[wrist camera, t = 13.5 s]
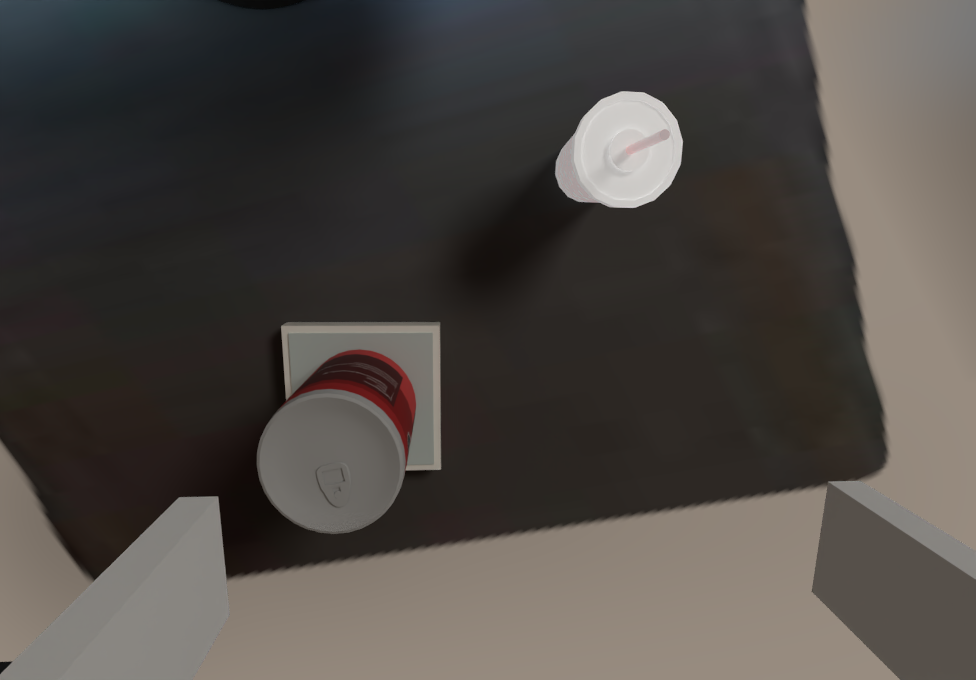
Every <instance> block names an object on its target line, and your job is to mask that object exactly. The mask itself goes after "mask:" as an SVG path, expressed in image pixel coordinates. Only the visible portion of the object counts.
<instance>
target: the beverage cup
mask: <svg viewBox="0 0 976 680" xmlns="http://www.w3.org/2000/svg"><path fill="white" fill-rule="evenodd" d="M682 144H683V141H682V137H681V134H680V130H679V126H678V123H677V120H676V118H675V117H674V116H673V115H672V113H671V112H670V111H669V110H668V108H667V107H666V106H665V104H664V103H663V102H661V101H659V100H657V99H655V98H653V97H651V96H650V95H648V94H646V93H643V92H623V91H622V92H619V93H617V94H614V95H612V96H609V97H607V98H604V99H601V100H600V101H599V102H598V103H597V104H596V105H595V106H594V107H593V108H592V109H591V110H590V111H589V112H588V113H587V114H586V115H585V116H584V117H583V118H582V119H581V121H580V124H579V126H578V128H577V130H576V132H575V134H574V135H573V136H572V138H571V139H570V140H569V141H568V142H567V143H566V145H565V146H564V147H563V148H562V149H561V152H560V154H559V156H558V158H557V161H556V172H555V175H556V178H557V181H558V184H559V187H560V188H561V189H562V190H563V192H564V193H565V194H566V195H567V196H568V197H570V198H572V199H574V200H576V201H578V202H600V203H602V204H604V205H606V206H608V207H621V208H635V207H638V206H640V205H643V204H645V203H648V202H650V201H653V200H655V199H656V198H657V197H658V196H659V195H660V194H661V193H662V192H663V191H665V190H666V189H667V188H668V187H669V186H670V185H671V183H672V181H673V179H674V177H675V175H676V173H677V171H678V169H679V167H680V165H681V155H682Z"/></svg>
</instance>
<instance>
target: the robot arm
mask: <svg viewBox="0 0 976 680" xmlns="http://www.w3.org/2000/svg"><path fill="white" fill-rule="evenodd" d="M219 1H221V2H224V3H228V4H231V5H235V6H239V7H245V8H254V9H271V8H279V7H285V6H289V5H293V4H296V3H299V2H302V1H304V0H219ZM812 592H813V593H814V594H815V595H816V596H817V597H818V598H819V599H820V600H821V601H822V602H823V603H824V604H825V605H826V606H827V607H828V608H829V609H830V610H831V611H832V612H833V613H834V614H835V615H836V616H837V617H838V618H839V619H840V620H841V621H842V622H843V623H844V624H845V625H846V626H847V627H848V628H849V629H850V630H851V631H852V632H853V633H854V634H855V635H856V636H857V637H858V638H859V639H860V640H861V641H862V642H863V643H864V644H865V645H866V646H867V647H868V648H869V649H870V650H871V651H872V652H873V653H874V654H875V655H876V656H877V657H878V658H879V659H880V660H881V661H882V662H883V663H884V664H885V665H886V666H887V667H888V668H889V669H890V670H891V671H892V672H893V673H894V674H895V675H896V676H897V677H898V678H899V679H900V680H976V551H975V550H973V549H972V548H970V547H968V546H967V545H965V544H963V543H962V542H960V541H959V540H957V539H955V538H954V537H952V536H950V535H949V534H947V533H945V532H944V531H942V530H940V529H939V528H937V527H935V526H934V525H932V524H931V523H929V522H927V521H926V520H924V519H922V518H921V517H919V516H918V515H916V514H914V513H913V512H911V511H909V510H908V509H906V508H904V507H903V506H901V505H899V504H898V503H896V502H894V501H893V500H891V499H890V498H888V497H886V496H885V495H883V494H881V493H879V492H878V491H876V490H875V489H873V488H871V487H870V486H868V485H866V484H865V483H863V482H862V481H840V482H828V487H827V494H826V500H825V507H824V513H823V520H822V527H821V533H820V540H819V547H818V554H817V560H816V567H815V574H814V580H813V588H812ZM229 615H230V612H229V602H228V591H227V581H226V571H225V561H224V551H223V541H222V530H221V520H220V510H219V500H218V496H215V497H179V498H178V499H177V500H176V501H175V502H174V503H173V504H172V505H171V506H170V507H169V508H168V509H167V510H166V511H165V512H164V513H163V514H162V515H161V516H160V517H159V518H158V519H157V520H156V521H155V522H154V523H153V524H152V525H151V526H150V527H149V528H148V529H147V530H146V531H145V532H144V533H143V534H142V535H141V536H140V537H139V538H138V539H137V540H136V541H135V542H134V543H133V544H132V545H131V546H130V547H128V548H127V549H126V550H125V551H124V552H123V553H122V554H121V555H120V556H119V557H118V558H117V559H116V560H115V561H114V562H113V563H112V564H111V565H110V566H109V567H108V568H107V569H106V570H105V571H104V572H103V573H102V574H101V575H100V576H99V577H98V578H97V579H96V580H95V581H94V582H93V583H92V584H91V585H90V586H89V587H88V588H87V589H86V590H85V591H84V592H83V593H82V594H81V595H80V596H79V597H78V598H77V599H76V600H75V601H74V602H73V603H72V604H71V605H70V606H69V607H68V608H67V609H66V610H65V611H64V612H63V613H62V614H61V615H60V616H59V617H58V618H57V619H56V620H55V621H54V622H53V623H52V624H50V626H49V627H47V629H45V631H43V632H42V633H41V634H40V636H38V637H37V638H36V639H35V640H34V641H33V642H32V643H31V644H30V645H29V646H28V647H27V648H26V649H25V650H24V651H23V652H22V653H21V654H20V655H19V656H18V657H17V658H16V659H15V660H14V661H13V662H0V680H193V678H194V676H195V674H196V673H197V671H198V669H199V667H200V666H201V664H202V662H203V660H204V659H205V657H206V655H207V653H208V652H209V650H210V648H211V646H212V645H213V643H214V641H215V639H216V638H217V636H218V634H219V632H220V630H221V629H222V627H223V625H224V624H225V622H226V620H227V618H228V617H229Z"/></svg>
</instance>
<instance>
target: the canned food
mask: <svg viewBox="0 0 976 680" xmlns="http://www.w3.org/2000/svg"><path fill="white" fill-rule="evenodd" d="M415 413H416V398H415V393H414V390H413V386H412V384H411V382H410V380H409V378H408V376H407V375H406V373H405V372H404V371H403V370H402V369H401V367H400V366H399V365H397V364H396V363H395V362H394V361H393V360H391V359H390V358H388V357H386V356H384V355H382V354H380V353H377V352H374V351H370V350H361V349H359V350H348V351H345V352H342V353H338V354H336V355H335V356H333V357H331V358H329V359H328V360H327V361H325V362H324V363H323V364H322V365H321V366H320V367H319V368H318V369H317V370H316V371H315V372H314V373H313V374H312V375H311V376H310V377H309V378H308V379H307V380H306V381H305V382H304V383H303V384H302V385H301V386H300V387H299V388H298V389H297V390H296V391H295V392H294V393H293V394H292V395H291V396H290V397H289V398H288V399H287V400H286V401H285V402H284V403H283V405H282V406H281V407H280V408H279V409H278V410H277V411H276V413H275V414H274V415H273V417H272V418H271V419H270V420H269V422H268V424H267V426H266V428H265V430H264V432H263V434H262V436H261V438H260V442H259V446H258V450H257V470H258V475H259V480H260V482H261V485H262V487H263V490H264V492H265V494H266V495H267V497H268V499H269V500H270V502H271V503H272V505H273V506H274V507H275V508H276V509H277V510H278V511H279V512H280V513H281V514H282V515H283V516H285V517H286V518H288V519H289V520H290V521H292V522H293V523H295V524H297V525H299V526H301V527H303V528H305V529H308V530H312V531H316V532H320V533H330V534H337V533H347V532H351V531H355V530H358V529H361V528H363V527H365V526H367V525H369V524H371V523H373V522H374V521H376V520H377V519H378V518H379V517H381V516H382V515H383V514H384V513H385V512H386V511H387V510H388V508H389V507H390V506H391V505H392V504H393V502H394V500H395V498H396V496H397V494H398V492H399V490H400V488H401V485H402V482H403V478H404V475H405V470H406V466H407V461H408V455H409V449H410V443H411V438H412V432H413V426H414V420H415Z"/></svg>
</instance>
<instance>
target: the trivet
mask: <svg viewBox="0 0 976 680" xmlns="http://www.w3.org/2000/svg"><path fill="white" fill-rule="evenodd" d="M281 332H282V347H283V362H284V376H285V391H286V400H287V399H288V398H289V397H290V396H291V395H292V394H293V393H294V392H295V391H296V390H297V389H298V388H299V387H300V386H301V385H302V384H303V383H304V382H305V381H306V380H307V379H308V378H309V377H310V376H311V375H312V374H313V373H314V372H315V371H316V370H317V369H318V368H319V367H320V366H321V365H322V364H323V363H324V362H325V361H327V360H328V359H329V358H331V357H333V356H335V355H336V354H338V353H342V352H345V351H348V350H359V349H361V350H370V351H374V352H377V353H380V354H382V355H384V356H386V357H388V358H390V359H391V360H393V361H394V362H395V363H396V364H397V365H399V366H400V367H401V369H402V370H403V371H404V372H405V373H406V375H407V376H408V378H409V380H410V382H411V384H412V386H413V390H414V393H415V398H416V413H415V420H414V426H413V432H412V438H411V443H410V449H409V455H408V461H407V466H406V470H441V383H440V322H287V323H285V324H284V325H282V326H281Z"/></svg>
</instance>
